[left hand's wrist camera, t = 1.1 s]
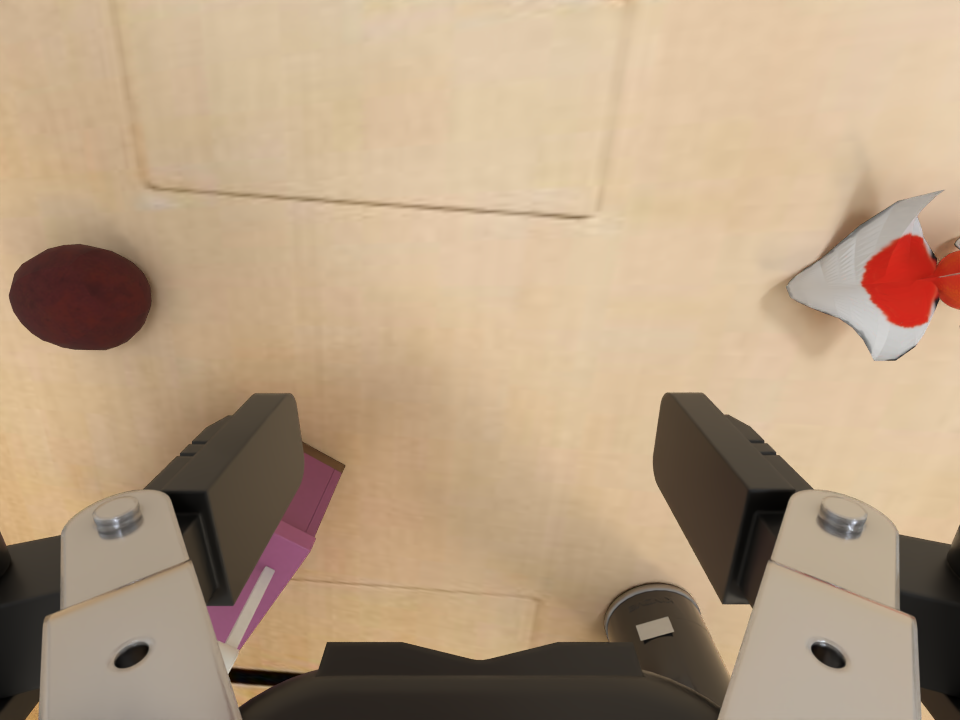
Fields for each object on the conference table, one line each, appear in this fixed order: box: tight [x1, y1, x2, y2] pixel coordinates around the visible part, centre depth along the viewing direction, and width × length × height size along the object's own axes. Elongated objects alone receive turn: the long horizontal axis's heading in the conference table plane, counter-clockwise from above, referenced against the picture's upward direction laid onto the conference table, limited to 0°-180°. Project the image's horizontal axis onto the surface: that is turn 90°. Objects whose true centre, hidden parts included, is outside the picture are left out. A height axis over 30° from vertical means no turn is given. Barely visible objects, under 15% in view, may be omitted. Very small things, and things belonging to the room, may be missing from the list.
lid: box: [206, 521, 316, 673], centre depth 32 cm, size 17×9×9 cm, turn 145°
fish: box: [786, 190, 960, 361], centre depth 35 cm, size 11×16×10 cm
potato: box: [9, 244, 151, 350], centre depth 35 cm, size 7×8×7 cm
